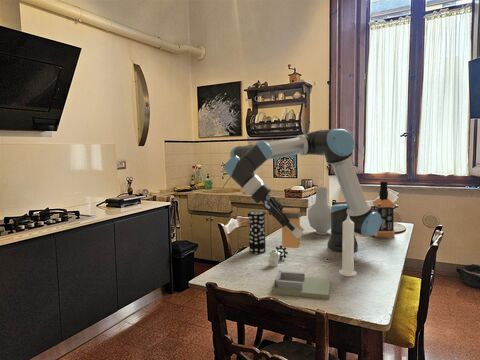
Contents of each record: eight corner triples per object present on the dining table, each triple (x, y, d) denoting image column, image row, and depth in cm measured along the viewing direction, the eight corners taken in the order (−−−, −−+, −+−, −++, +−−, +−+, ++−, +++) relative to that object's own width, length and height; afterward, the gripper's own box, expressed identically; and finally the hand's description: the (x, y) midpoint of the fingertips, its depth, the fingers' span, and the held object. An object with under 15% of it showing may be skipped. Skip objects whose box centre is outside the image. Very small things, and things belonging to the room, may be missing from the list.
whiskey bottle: (395, 238, 195) (396, 181, 192) (377, 238, 195) (378, 182, 192) (387, 233, 205) (388, 180, 202) (371, 233, 206) (371, 180, 202)
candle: (336, 270, 148) (336, 213, 145) (352, 270, 148) (353, 212, 146) (342, 277, 140) (343, 216, 138) (359, 276, 141) (360, 215, 139)
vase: (339, 231, 212) (339, 186, 209) (331, 238, 199) (331, 189, 196) (313, 228, 221) (313, 185, 218) (303, 234, 207) (303, 188, 205)
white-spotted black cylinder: (264, 254, 172) (263, 214, 170) (248, 253, 174) (247, 214, 172) (266, 249, 180) (265, 211, 178) (250, 248, 182) (250, 211, 180)
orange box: (299, 244, 132) (299, 208, 131) (298, 248, 127) (298, 210, 126) (284, 243, 134) (283, 207, 132) (282, 247, 129) (281, 210, 127)
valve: (279, 267, 153) (288, 259, 164) (279, 253, 153) (287, 245, 163) (265, 265, 156) (274, 257, 167) (265, 251, 155) (274, 244, 166)
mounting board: (329, 282, 136) (329, 272, 135) (329, 299, 121) (329, 288, 121) (279, 278, 141) (279, 268, 140) (272, 293, 126) (272, 283, 126)
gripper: (255, 193, 141) (296, 234, 139) (244, 200, 124) (291, 247, 121) (268, 180, 139) (310, 222, 137) (258, 185, 122) (306, 233, 119)
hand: (301, 233), depth 129 cm, fingers closed on orange box, 5 cm apart
